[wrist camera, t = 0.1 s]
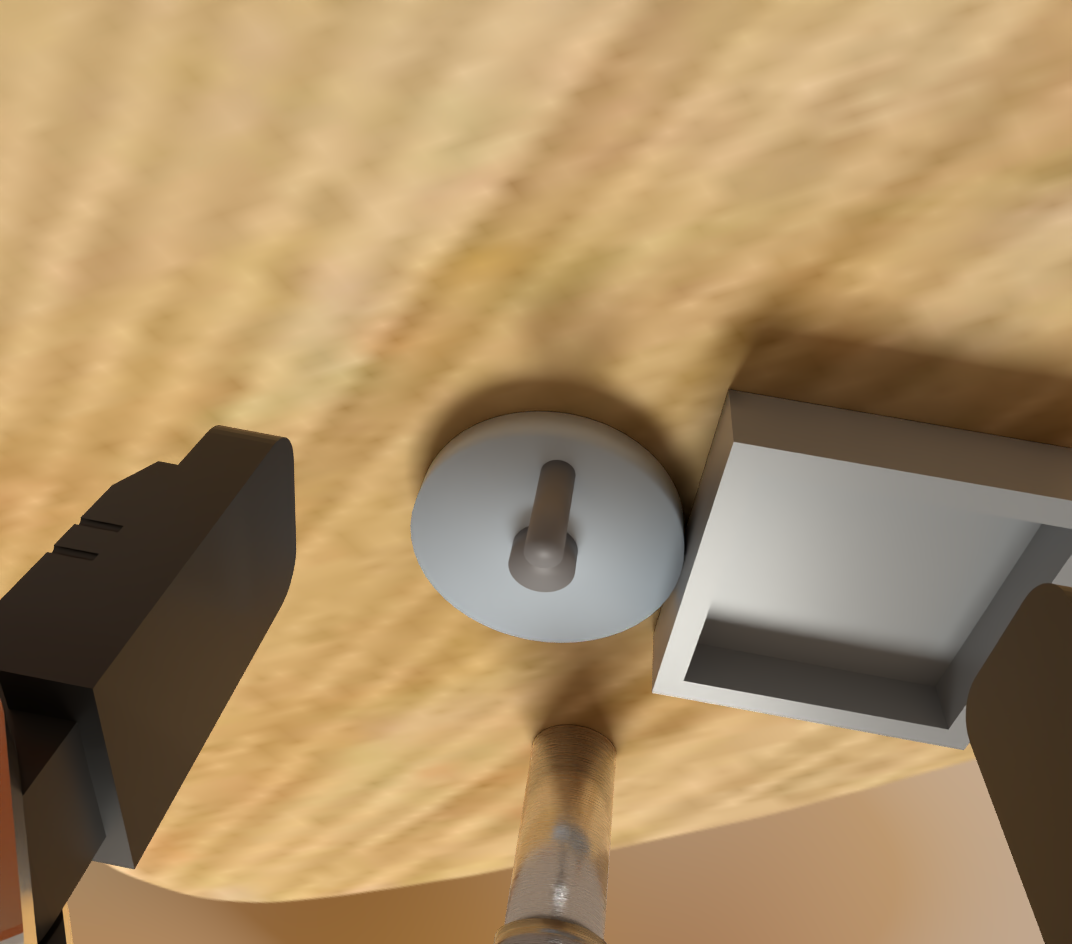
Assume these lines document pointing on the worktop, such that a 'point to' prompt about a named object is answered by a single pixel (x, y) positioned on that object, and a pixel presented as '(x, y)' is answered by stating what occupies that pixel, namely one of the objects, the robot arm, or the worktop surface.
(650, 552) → the pot lid
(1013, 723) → the robot arm
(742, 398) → the tray
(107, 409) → the worktop surface
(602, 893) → the salt shaker
